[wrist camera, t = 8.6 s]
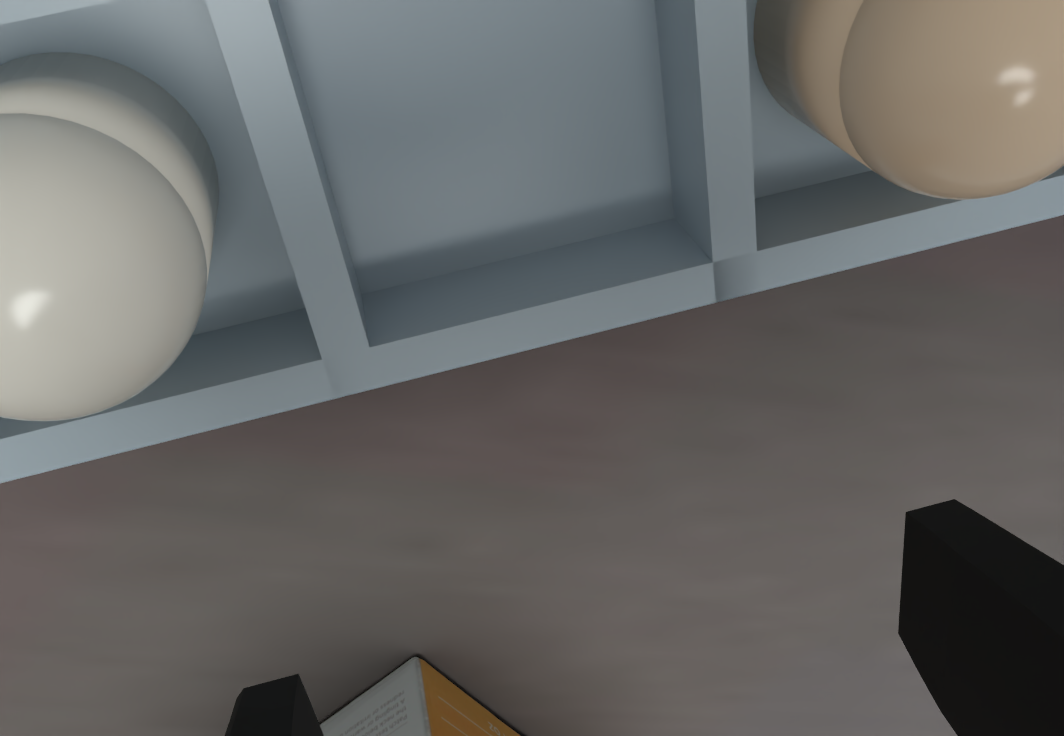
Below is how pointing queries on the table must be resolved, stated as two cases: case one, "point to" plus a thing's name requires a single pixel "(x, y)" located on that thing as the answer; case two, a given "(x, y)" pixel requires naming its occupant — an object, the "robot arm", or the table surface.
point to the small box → (415, 708)
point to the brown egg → (924, 86)
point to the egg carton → (469, 189)
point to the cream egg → (96, 233)
